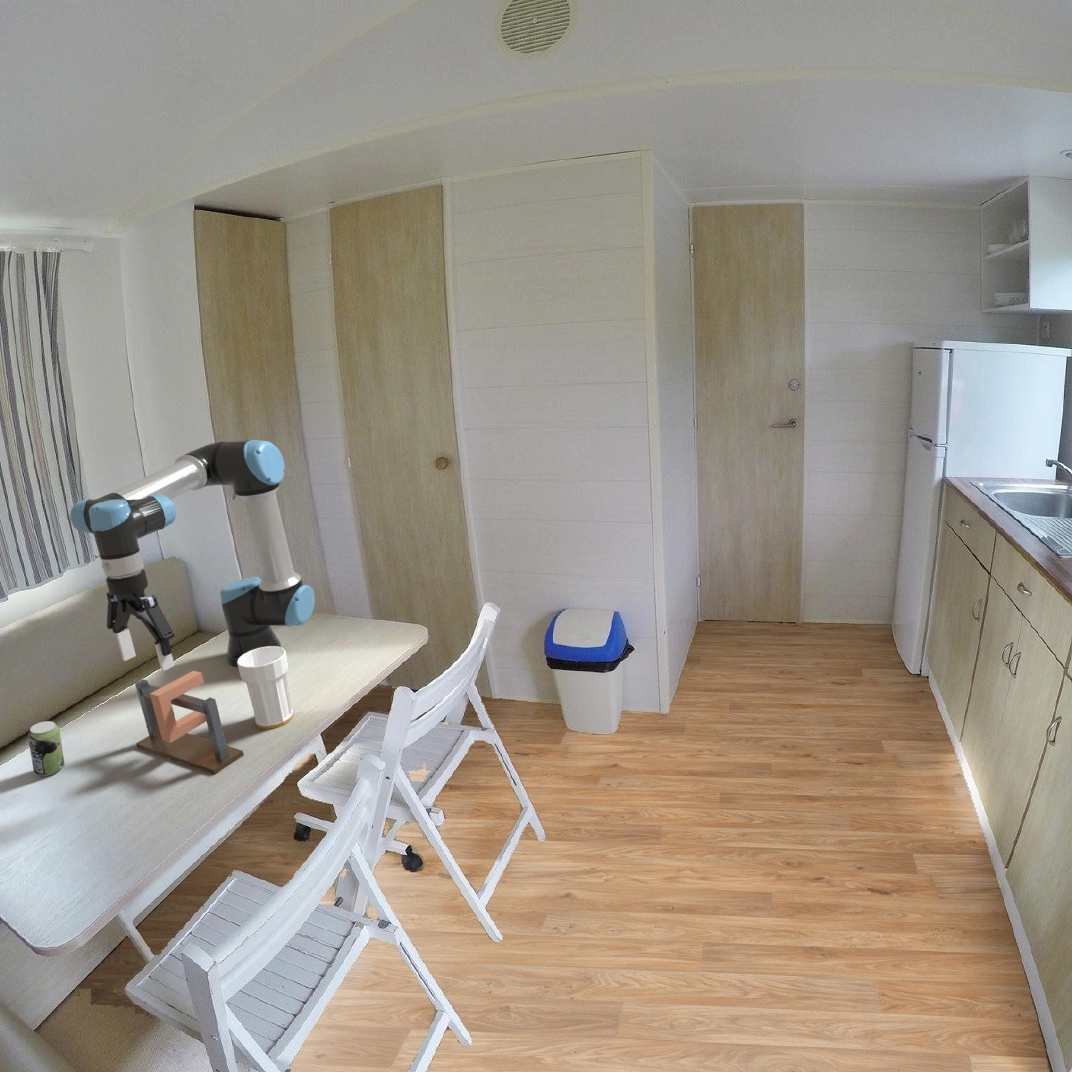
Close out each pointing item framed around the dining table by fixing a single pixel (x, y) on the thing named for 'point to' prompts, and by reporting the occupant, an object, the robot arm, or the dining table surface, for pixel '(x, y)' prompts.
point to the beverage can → (46, 748)
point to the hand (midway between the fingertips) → (148, 663)
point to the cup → (267, 685)
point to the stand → (188, 746)
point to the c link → (164, 709)
